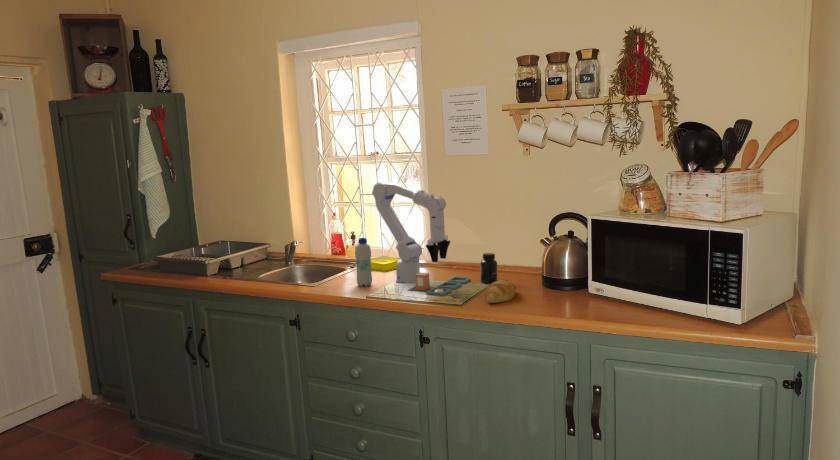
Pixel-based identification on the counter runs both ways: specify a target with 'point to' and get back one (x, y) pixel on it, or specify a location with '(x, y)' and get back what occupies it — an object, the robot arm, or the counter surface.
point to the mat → (420, 290)
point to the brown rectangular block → (422, 281)
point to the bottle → (363, 263)
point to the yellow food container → (384, 263)
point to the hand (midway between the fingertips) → (439, 260)
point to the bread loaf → (500, 291)
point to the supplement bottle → (488, 268)
